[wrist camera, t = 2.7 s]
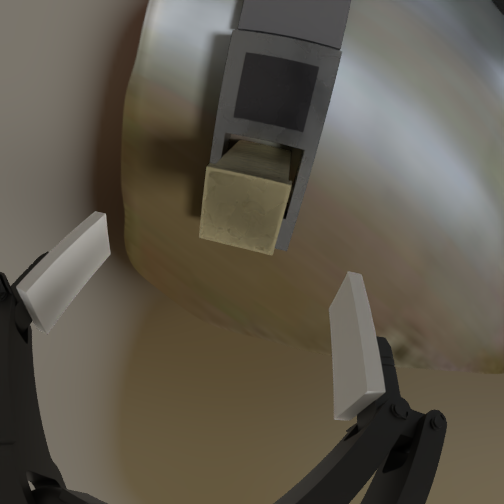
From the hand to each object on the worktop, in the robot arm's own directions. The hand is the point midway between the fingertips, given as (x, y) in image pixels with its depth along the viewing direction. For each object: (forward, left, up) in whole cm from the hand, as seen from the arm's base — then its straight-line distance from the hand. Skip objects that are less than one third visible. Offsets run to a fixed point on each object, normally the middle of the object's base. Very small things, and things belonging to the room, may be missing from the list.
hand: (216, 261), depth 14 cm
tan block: (0, 0, -15) cm, 15 cm away
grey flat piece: (-3, 0, -15) cm, 16 cm away
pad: (-18, 0, -15) cm, 24 cm away
